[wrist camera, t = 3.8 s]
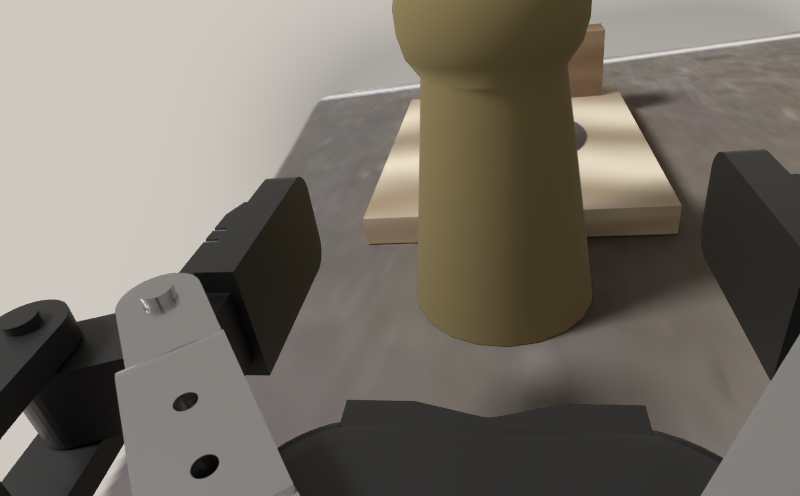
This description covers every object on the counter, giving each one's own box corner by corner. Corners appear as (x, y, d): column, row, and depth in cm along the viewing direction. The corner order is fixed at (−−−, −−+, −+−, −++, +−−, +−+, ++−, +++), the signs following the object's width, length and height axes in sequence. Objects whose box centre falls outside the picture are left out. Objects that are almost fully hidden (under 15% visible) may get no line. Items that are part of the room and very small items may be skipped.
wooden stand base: (677, 233, 21) (695, 112, 19) (367, 243, 24) (347, 137, 21) (612, 103, 34) (618, 20, 31) (414, 118, 36) (404, 42, 34)
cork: (576, 363, 16) (595, -67, 11) (389, 327, 19) (322, -38, 13) (604, 252, 21) (627, -93, 15) (450, 235, 23) (420, -67, 18)
